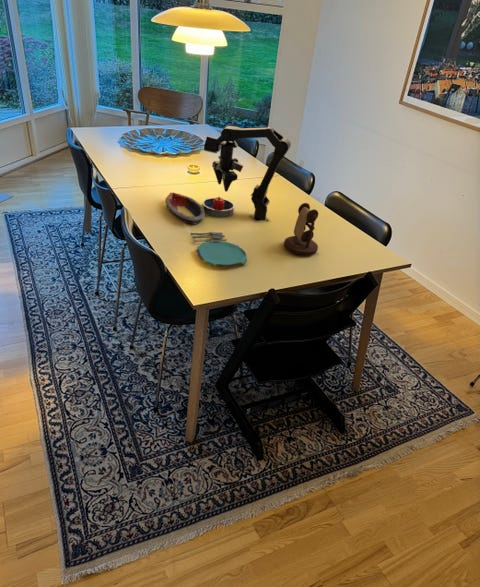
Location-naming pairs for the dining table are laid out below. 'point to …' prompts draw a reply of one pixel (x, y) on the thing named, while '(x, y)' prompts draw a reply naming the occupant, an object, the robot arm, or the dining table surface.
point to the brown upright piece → (303, 232)
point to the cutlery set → (219, 251)
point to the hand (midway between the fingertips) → (222, 187)
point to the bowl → (209, 210)
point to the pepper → (218, 203)
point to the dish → (188, 203)
